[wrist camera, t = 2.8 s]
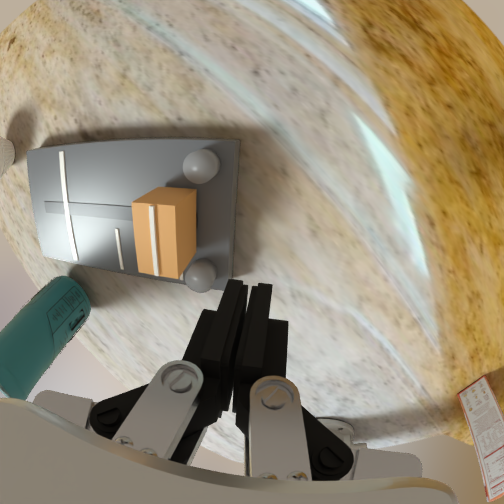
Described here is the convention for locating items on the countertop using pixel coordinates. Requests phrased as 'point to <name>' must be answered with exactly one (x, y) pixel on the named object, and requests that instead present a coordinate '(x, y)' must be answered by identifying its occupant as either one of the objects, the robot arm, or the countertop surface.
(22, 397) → the beverage bottle
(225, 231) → the console board
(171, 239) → the fader tab
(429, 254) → the countertop surface
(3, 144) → the muffin
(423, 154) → the countertop surface
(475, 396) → the cracker box
